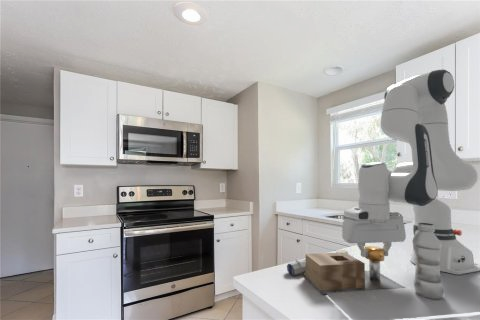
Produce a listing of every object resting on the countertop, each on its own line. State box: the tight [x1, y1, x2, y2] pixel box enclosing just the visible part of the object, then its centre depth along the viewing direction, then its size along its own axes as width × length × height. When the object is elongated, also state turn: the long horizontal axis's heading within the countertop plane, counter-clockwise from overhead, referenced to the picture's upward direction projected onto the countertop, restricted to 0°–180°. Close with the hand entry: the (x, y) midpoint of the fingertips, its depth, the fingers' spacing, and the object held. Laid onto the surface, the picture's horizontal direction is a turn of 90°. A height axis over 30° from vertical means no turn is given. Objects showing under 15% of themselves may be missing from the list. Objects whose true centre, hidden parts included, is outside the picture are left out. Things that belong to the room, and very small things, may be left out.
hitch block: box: [303, 252, 406, 296], centre depth 77 cm, size 26×13×8 cm, turn 99°
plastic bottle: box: [411, 223, 444, 301], centre depth 69 cm, size 6×7×20 cm
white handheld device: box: [286, 249, 349, 277], centre depth 87 cm, size 5×7×25 cm
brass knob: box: [364, 245, 385, 281], centre depth 79 cm, size 5×5×10 cm
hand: (374, 256), depth 79 cm, fingers open, 5 cm apart
